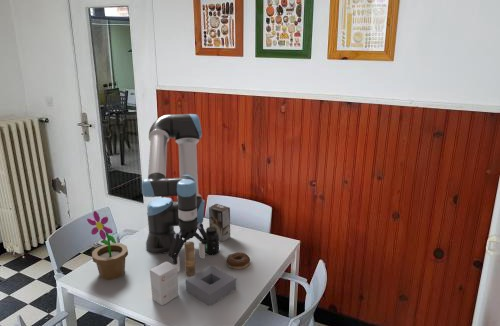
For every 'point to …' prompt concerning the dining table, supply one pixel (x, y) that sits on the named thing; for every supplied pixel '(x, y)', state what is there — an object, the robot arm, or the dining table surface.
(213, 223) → the coffee box
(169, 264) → the small box
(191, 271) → the oak peg
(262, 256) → the dining table surface
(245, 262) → the donut
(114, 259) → the flowerpot
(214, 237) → the supplement bottle
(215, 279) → the socket block
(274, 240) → the dining table surface
